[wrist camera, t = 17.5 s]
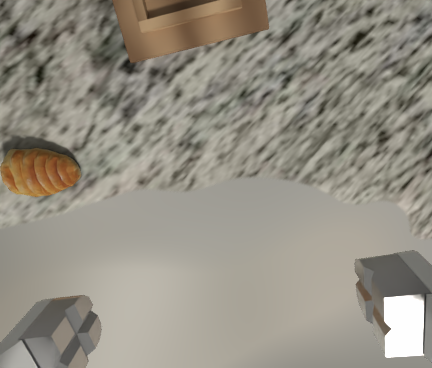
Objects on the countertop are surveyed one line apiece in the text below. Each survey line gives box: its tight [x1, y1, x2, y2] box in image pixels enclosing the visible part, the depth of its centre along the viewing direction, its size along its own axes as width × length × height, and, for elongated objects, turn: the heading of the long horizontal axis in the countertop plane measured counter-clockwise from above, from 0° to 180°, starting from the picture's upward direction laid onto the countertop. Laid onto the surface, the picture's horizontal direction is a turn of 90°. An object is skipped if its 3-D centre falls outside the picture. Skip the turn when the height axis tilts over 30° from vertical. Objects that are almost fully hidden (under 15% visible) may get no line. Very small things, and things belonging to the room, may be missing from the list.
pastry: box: [0, 148, 81, 197], centre depth 38 cm, size 9×7×4 cm
